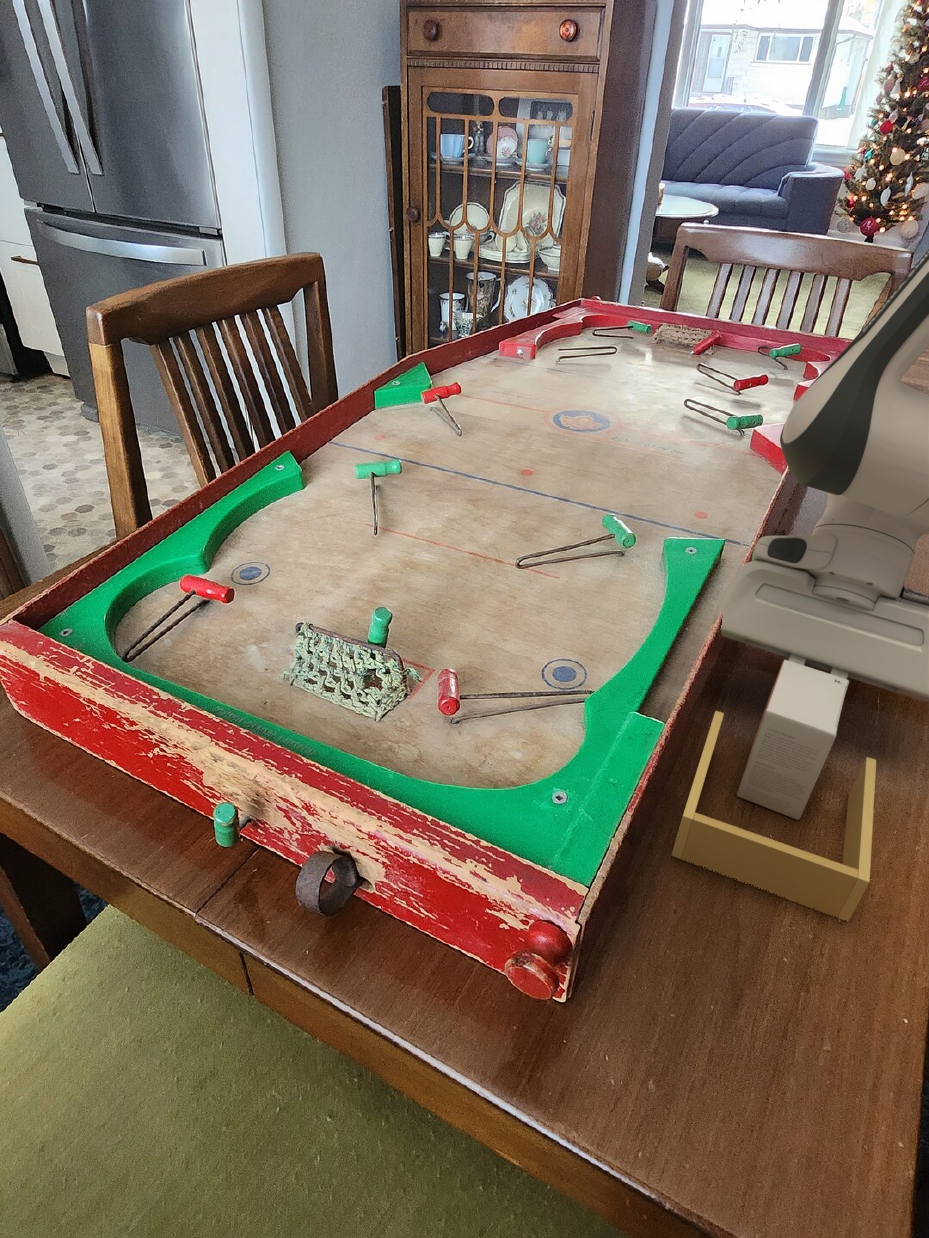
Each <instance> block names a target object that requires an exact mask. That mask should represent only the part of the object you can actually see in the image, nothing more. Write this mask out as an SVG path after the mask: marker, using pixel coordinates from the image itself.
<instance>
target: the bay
mask: <svg viewBox="0 0 929 1238" xmlns="http://www.w3.org/2000/svg"><path fill="white" fill-rule="evenodd" d="M724 717H725V713H724V712H721V711H718V710H715V711H714V714H713V716H712V721H711V724H710V727H709V729H708V733H707V736H706V740H705V743H704V746H703V749H702V753H701V755H700V759H699V762H698V765H697V768H696V772H695V775H694V778H693V781H692V784H691V787H690V791H689V794H688V798H687V800H686V804H685V808H684V811H683V814H682V817H681V820H680V824H679V828H678V831H677V834H676V837H675V841H674V845H673V848H672V851H671V856H672V857H673V858H676V859H678V860H682V861H684V862H685V863H686V862H687V863H689V864H692V865H695V866H697V867H700V868H703V869H705V870H707V871H711V872H713V873H715V874H719V875H721V876H724V877H727V878H729V879H732V880H735V881H737V882H740V883H743V884H745V885H748V886H750V887H753V888H756V889H759V890H762V891H764V892H767V893H769V894H773V893H774V894H773V895H775V896H778V897H780V898H783V899H785V900H787V901H790V902H793V903H796V904H798V905H801V906H804V907H806V908H809V909H812V910H814V911H816V912H819V913H823V914H825V915H828V916H830V917H833V918H837V919H839V920H841V921H844V922H847V923H848V922H849V921H850V920H851V917H852V916H853V914H854V912H855V911H856V908H857V906H858V904H859V903H860V901H861V899H862V898H863V895H864V893H865V892H866V889H867V888H868V886H869V885H870V883H871V864H872V849H873V848H872V847H873V846H872V845H873V828H874V813H875V812H874V809H875V791H876V773H877V759H875V758H871V757H869V756H866V758H865V759H864V762H863V764H862V766H861V767H860V770H859V772H858V774H857V776H856V778H855V781H854V783H853V785H852V787H851V789H850V792H849V793H848V796H847V806H846V818H845V828H844V829H845V830H844V839H843V850H842V852H843V853H842V860H841V862H842V863H840V862H837V861H835V860H831V859H829V858H826V857H823V856H821V855H817V854H815V853H811V852H810V851H809V852H808V851H806V850H803V849H801V848H797V847H794V846H791V845H789V844H785V843H783V842H780V841H777V840H774V839H772V838H769V837H766V836H763V835H761V834H757V833H754V832H752V831H749V830H747V829H744V828H740V827H738V826H734V825H732V824H730V823H726V822H723V821H721V820H718V819H715V818H712V817H709V816H707V815H704V814H701V813H698V812H696V811H697V807H698V805H699V800H700V797H701V793H702V790H703V787H704V784H705V780H706V777H707V773H708V770H709V767H710V763H711V760H712V756H713V753H714V750H715V746H716V743H717V740H718V736H719V733H720V730H721V726H722V724H723V719H724ZM685 860H686V861H685ZM691 862H692V863H691ZM693 863H694V864H693ZM699 865H700V866H699ZM701 866H703V867H701ZM704 867H706V868H704ZM707 868H708V869H707ZM712 870H713V871H712ZM715 871H716V872H715ZM717 872H718V873H717ZM720 873H721V874H720ZM725 875H726V876H725ZM728 876H729V877H728ZM731 877H732V878H731ZM733 878H736V879H737V880H736V879H733ZM744 882H745V883H744ZM747 883H748V884H747ZM749 884H751V885H749ZM752 885H754V886H752ZM755 886H756V887H755ZM757 887H758V888H757ZM760 888H761V889H760ZM763 889H764V890H763ZM765 890H768V891H769V892H768V891H765ZM776 894H777V895H776ZM784 897H785V898H784ZM797 902H798V903H797ZM813 908H814V909H813ZM832 915H833V916H832ZM835 916H836V917H835ZM845 920H846V921H845Z"/></svg>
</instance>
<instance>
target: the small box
mask: <svg viewBox="0 0 929 1238" xmlns="http://www.w3.org/2000/svg"><path fill="white" fill-rule="evenodd" d="M788 660H789V659H783V660H782V662H781V665H780V667H779V670H778V673H777V676H776V678H775V681H774V684H773V686H772V689H771V692H770V694H769V697H768V699H767V702H766V705H765V708H764V711H763V713H762V717H761V719H760V723H759V726H758V728H757V732H756V735H755V738H754V741H753V743H752V746H751V750H750V753H749V756H748V759H747V762H746V765H745V768H744V771H743V774H742V778H741V780H740V782H739V786H738V789H737V791H736V797H738V798H739V799H742V800H746V801H747V802H751V803H753V804H756V805H758V806H761V807H763V808H766V809H769V810H770V811H774V812H776V813H779V814H782V815H783V816H786V817H789V818H791V819H794V820H796V821H799V820H800V819H801V817H802V815H803V813H804V811H805V808H806V806H807V804H808V801H809V800H810V797H811V795H812V792H813V790H814V787H815V785H816V783H817V780H818V778H819V776H820V774H821V772H822V769H823V767H824V765H825V763H826V760H827V758H828V756H829V754H830V752H831V749H832V748H833V747H832V746H833V745H834V742H835V740H836V737H837V732H838V727H839V721H840V718H841V713H842V709H843V705H844V701H845V697H846V693H847V690H848V687H849V684H850V680H849V679H848V678H847V679H844V678H841V677H838V676H835V675H832V674H830V672H829V673H828V672H825V671H822V670H819V669H816V668H813V667H809V666H807V665H805V664H804V665H801V664H797V663H794V662H791V661H788Z"/></svg>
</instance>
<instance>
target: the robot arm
mask: <svg viewBox="0 0 929 1238" xmlns="http://www.w3.org/2000/svg"><path fill="white" fill-rule="evenodd" d="M928 348H929V248H928V250H927V251H926V252H925V253H924V254H923V255H922V257H921V258H920V259H919V260H918V261H917V263H916V264H915V265H914V266H913V268H912V269H911V270H910V271H909V273H907V275H906V276H905V277H904V279H903V280H902V281H901V282H900V283H899V285H898V286H897V287H896V288H895V289H894V291H893V292H891V294H890V296H888V298H887V299H886V300H885V301H884V302H883V304H882V305H881V306H880V307H879V308H878V310H877V311H876V312H875V314H874V315H873V316H872V317H871V318H870V319H869V321H868V322H867V323H866V324H865V326H864V327H863V328H862V329H861V330H860V331H859V333H858V334H857V335H856V336H855V337H854V339H852V341H851V342H850V343H849V344H848V346H847V347H846V348H845V349H844V350H843V351H842V352H841V353H840V354H839V355H838V356H837V357H836V358H835V359H834V360H833V361H832V362H831V363H830V364H829V365H828V366H827V367H826V368H825V369H824V370H823V371H822V372H821V373H820V374H819V376H818V377H817V378H816V379H815V380H814V381H813V382H812V383H811V384H810V385H809V387H808V388H807V389H806V390H805V391H804V392H803V393H802V394H801V395H800V397H799V398H798V399H797V401H796V402H795V403H794V405H793V407H792V408H791V410H790V412H789V414H788V416H787V418H786V420H785V422H784V425H783V426H782V430H781V432H780V437H779V444H780V448H781V451H782V455H783V458H784V460H785V463H786V465H787V467H788V469H789V471H790V474H791V475H792V476H793V478H794V479H795V481H796V483H797V484H799V485H802V486H804V487H808V488H812V489H813V490H817V491H822V492H825V493H827V502H826V507H825V510H824V512H823V514H822V516H821V517H820V519H819V520H818V521H817V523H815V525H814V528H813V530H812V533H811V534H799V535H797V534H796V535H795V534H794V535H765V536H762V537H760V538H759V539H758V540H757V541H756V543H755V545H754V548H753V551H752V555H751V561H749V562H746V563H744V564H743V565H742V566H740V567H739V569H737V571H736V572H735V573H734V575H733V576H732V578H731V579H730V581H729V583H728V585H727V587H726V589H725V590H724V592H723V594H722V596H721V598H720V601H719V603H718V605H717V607H716V610H715V612H714V615H713V619H712V624H713V625H714V624H715V622H716V620H717V619H718V616H719V614H720V613H721V612H722V615H723V618H722V625H721V629H720V630H721V634H722V636H721V637H723V638H726V639H730V640H733V641H735V642H738V643H740V644H741V643H742V644H745V645H748V646H750V647H754V648H757V649H759V650H760V649H761V650H763V651H766V652H769V653H772V654H776V655H778V656H781V657H785V658H788V659H787V660H788V661H791V662H794V663H797V664H801V665H804V666H805V664H806V665H810V666H813V667H815V668H819V669H822V670H824V671H828V672H829V674H832V675H835V676H838V677H841V678H844V679H847V680H848V678H849V679H853V680H856V681H858V682H861V683H865V684H868V685H871V686H873V687H877V688H879V689H883V690H886V691H890V692H892V693H895V694H898V695H902V696H905V697H908V698H911V699H914V700H917V701H920V702H924V703H929V594H928V593H925V592H922V591H919V590H916V589H912V588H909V587H905V583H906V580H907V577H908V574H909V571H910V570H911V566H912V564H913V560H914V557H915V552H916V545H917V542H918V540H919V538H921V537H922V536H924V535H929V394H927V393H925V392H923V391H920V390H918V389H915V388H913V387H910V386H908V385H906V384H905V383H904V382H903V381H902V378H903V376H904V375H906V372H907V371H908V370H909V369H910V368H911V367H912V366H913V365H914V364H915V363H916V361H917V360H918V359H919V358H920V357H921V355H923V353H924V352H925V351H926V350H927V349H928Z"/></svg>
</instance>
